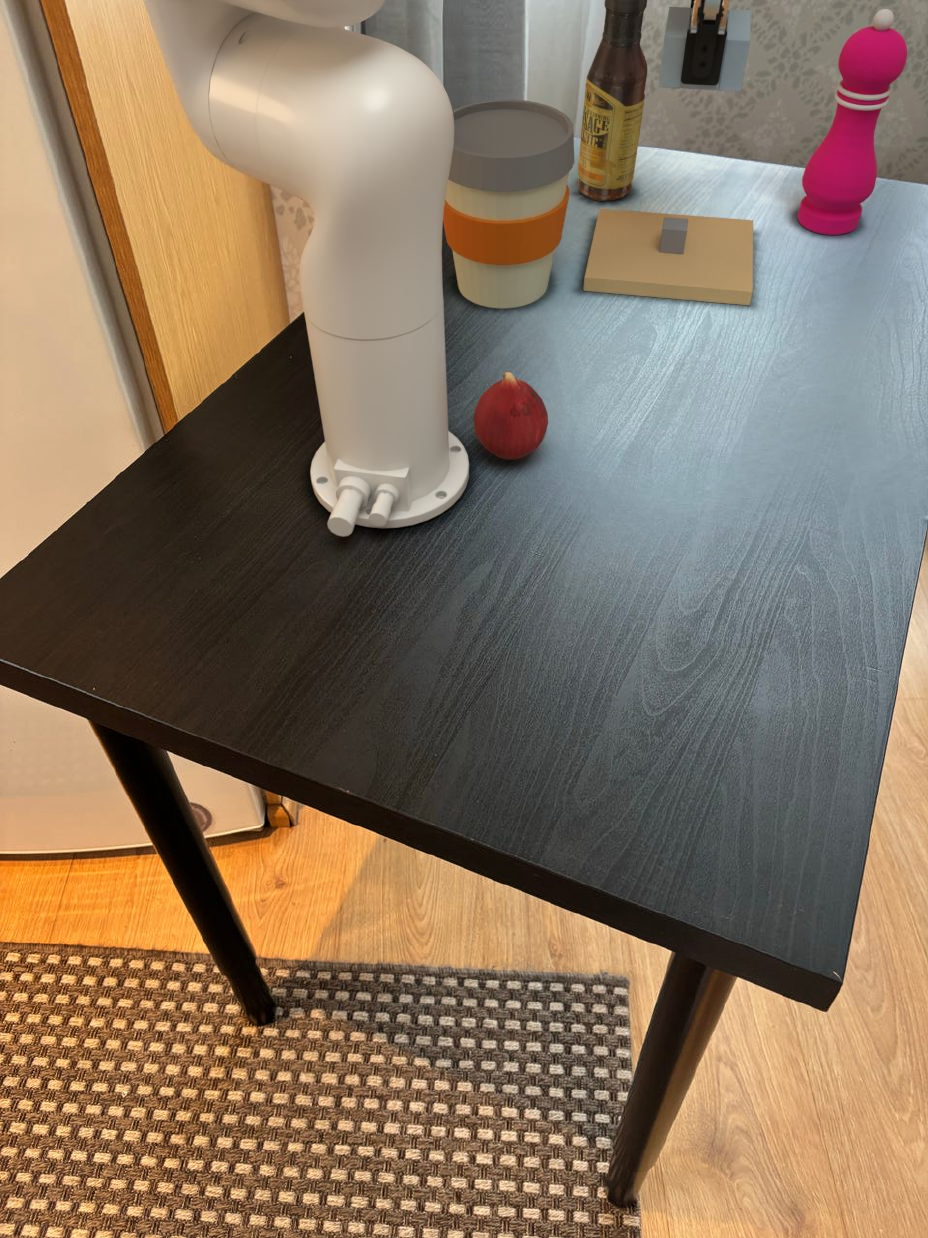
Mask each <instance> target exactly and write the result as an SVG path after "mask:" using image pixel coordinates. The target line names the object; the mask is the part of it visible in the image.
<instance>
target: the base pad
mask: <svg viewBox="0 0 928 1238" xmlns="http://www.w3.org/2000/svg"><path fill="white" fill-rule="evenodd" d="M593 231H594V232H593V236H592V241H591V244H590V245H591V246H590V250H589V255H588V259H587V264H586V269H585V273H584V278H583V288H582V289H583V292H593V293H603V294H604V293H605V294H614V295H627V296H637V297H649V298H660V299H672V300H683V301H694V302H695V301H696V302H705V303H717V304H729V305H740V306H750V305H751V302H752V297H753V293H754V220H753V219H743V218H742V219H741V218H731V217H730V218H729V217H716V216H702V215H691V214H675V213H665V212H663V213H662V212H651V211H638V210H635V211H634V210H625V209H612V208H611V209H609V208H599V209H598V214H597V218H596V222H595V228H594V230H593Z"/></svg>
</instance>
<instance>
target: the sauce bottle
mask: <svg viewBox="0 0 928 1238" xmlns="http://www.w3.org/2000/svg"><path fill="white" fill-rule="evenodd" d="M647 6H648V0H604V8H605V15H604V16H605V17H604V25H603V32H602V35H601V37H602V38H601V40H600V43H599V46H598V48H597V50H596V53H595V55H594V58H593V60H592V63H591V65H590V68H589V69H588V71H587V72H588V73H587V75H586V80H585V90H584V100H583V111H582V120H581V129H580V143H579V153H578V163H577V177H578V178H577V184H578V190H579V192H580V193H581V194H582V195H584V196H586V197H587V198H590V199H592V200H594V201H597V202H603V201H614V200H615V201H616V200H619V199H622V198H624V197H626V196H627V195H628V194H629V193H630V191H631V189H632V185H633V184H632V182H633V181H634V177H635V170H636V162H637V155H638V149H639V141H640V134H641V127H642V120H643V112H644V107H645V106H644V105H645V99H646V94H645V92H646V90H645V89H646V84H647V79H648V78H647V77H648V63H647V59H646V55H644V52H643V49H642V47H641V41H642V40H641V39H642V35H643V34H642V27H643V21H644V20H643V19H644V13H645V10H646V8H647Z"/></svg>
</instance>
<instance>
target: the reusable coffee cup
mask: <svg viewBox="0 0 928 1238" xmlns="http://www.w3.org/2000/svg"><path fill="white" fill-rule="evenodd" d="M452 111H453V117H454V146H453V153H452V160H451V166H450V172H449V178H448V184H447V190H446V197H445V205H444V215H443V228H444V235H445V239H446V242H447V246H449V248H450V250H451V251H452V255H453V262H454V268H455V274H456V280H457V287H458V290H459V292H460V293H461V296H463V297H464V298H465V299H466V300H468V301H470V302H471V303H473V304H475V305H478V306H482V307H486V308H490V309H491V308H492V309H514V308H515V309H516V308H520V307H524V306H527V305H530V304H532V303H534V302H536V301H538V300H539V299H540V298H542V297H543V296H544V295H545V293H546V292H547V290H548V287H549V282H550V277H551V271H552V266H553V260H554V255H555V251H556V250H557V247H558V246H559V245H560V242H561V240H562V235H563V232H564V231H563V230H564V226H565V222H566V221H565V220H566V215H567V210H568V205H569V199H570V188H569V185H568V181H569V176H570V172H571V171H572V169H573V167H574V165H575V163H576V162H575V137H574V124H573V122H572V120H571V118H570V117H569V116H567V115H566V113H564V112H563V111H561V110H560V109H557V108H555V107H553V106H550V105H547V104H544V103H541V102H537V101H530V100H523V99H490V100H482V101H477V102H476V101H475V102H472V103H469V104H465V105H462V106H459V107H457V108H454V109H452Z"/></svg>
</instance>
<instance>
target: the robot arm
mask: <svg viewBox="0 0 928 1238" xmlns="http://www.w3.org/2000/svg"><path fill="white" fill-rule="evenodd" d="M142 1H143V4H144V6H145V10H146V12H147V15H148V18H149V20H150V23H151V26H152V30H153V32H154V34H155V37H156V40H157V44H158V46H159V48H160V51H161V54H162V56H163V59H164V62H165V64H166V67H167V71H168V73H169V75H170V78H171V81H172V84H173V87H174V89H175V92H176V95H177V97H178V100H179V102H180V105H181V108H182V110H183V112H184V114H185V117H186V119H187V121H188V123H189V124H190V126H191V128H192V130H193V132H194V133H195V135H196V136H197V139H198V140H199V141H200V142H201V144H202V145H203V146H204V147H205V149H206V150H207V151H208V152H209V153H210V154H211V155H212V156H214V158H215V159H217V160H218V161H219V162H221V163H222V164H223V165H225V166H227V167H228V168H230V169H233V170H235V171H236V172H239V173H241V174H244V175H246V176H248V177H249V178H252V179H255V180H256V181H259V182H262V183H263V184H267V185H269V186H272V187H274V188H277V189H278V190H280V191H281V190H282V191H284V192H285V193H287V194H288V195H291V196H293V197H295V198H297V199H300V200H302V201H303V202H305V203H306V204H307V205H308V206H309V209H311V211H312V216H313V224H312V225H313V226H312V229H311V233H310V235H309V237H308V239H307V241H306V244H305V245H304V248H303V250H302V253H301V256H300V259H299V260H300V261H299V269H298V271H299V272H298V277H299V278H298V279H299V280H298V281H299V290H300V297H301V303H302V308H303V313H304V319H305V323H306V324H305V326H306V332H307V337H308V343H309V349H310V357H311V362H312V369H313V374H314V381H315V387H316V393H317V394H316V395H317V401H318V407H319V412H320V417H321V418H320V419H321V425H322V431H323V437H324V442H323V443H321V445H320V446H319V448H318V449H317V450H316V452H315V454H314V456H313V458H312V461H311V465H310V480H311V486H312V489H313V493H314V495H315V497H316V499H317V500H318V502H319V504H321V505H322V507H323V508H324V509H326V510H327V512H329V513H330V515H329V517H328V520H327V523H326V524H327V528H328V530H329V531H330V532H331V533H332V534H334V535H336V536H338V537H342V538H343V537H349V536H350V535H351V534H352V533H353V532H354V529H355V527H356V525H357V526H362V527H366V528H374V529H375V528H377V529H396V528H397V529H398V528H399V529H400V528H404V527H408V526H409V527H410V526H415V525H417V524H420V523H424V522H426V521H427V522H428V521H430V520H431V519H433V518H436V517H438V516H440V515H441V514H443V513H444V512H445V511H447V510H448V509H450V508H451V507H453V506H454V505H455V503H456V502H457V501H458V500H459V499H461V497H462V495H463V493H464V492H465V490H466V488H467V486H468V483H469V479H470V462H469V461H470V460H469V455H468V453H467V450H466V448H465V446H464V444H463V443H462V442H461V440H460V439H459V438H458V437H457V436H456V435H454V433H452V432H451V431H450V430H449V411H448V385H447V383H448V381H447V359H446V333H445V332H446V331H445V306H444V305H445V304H444V291H443V228H444V222H443V215H444V205H445V197H446V190H447V184H448V178H449V172H450V166H451V160H452V153H453V146H454V117H453V106H452V104H451V100H450V98H449V95H448V92H447V91H446V89H445V87H444V85H443V83H442V82H441V80H440V79H439V77H438V76H437V74H435V73H434V71H432V70H431V68H430V67H429V66H428V65H427V64H426V63H424V62H423V61H422V60H421V59H419V58H418V57H417V56H415V55H414V54H412V53H410V52H408V51H407V50H405V49H403V48H401V47H399V46H397V45H396V44H393V43H390V42H388V41H385V40H382V39H380V38H376V37H373V36H371V35H370V36H369V35H367V34H363V33H360V32H356V31H353V30H350V29H346V28H345V27H352V26H355V25H358V24H360V23H362V22H364V21H365V20H367V19H369V18H372V17H373V16H374V15H376V14H377V13H378V12H379V10H380V9H382V7H383V6H384V4H385V2H386V1H387V0H142ZM729 5H730V0H690V7H689V8H694V9H693V16H692V23H691V30H690V29H688V30H687V37H686V44H685V51H684V59H683V66H682V73H681V82H682V83H683V84H693V85H712V86H715V85H717V84H718V83H719V79H720V73H721V67H722V61H723V55H724V49H725V43H726V37H727V31H725V26H726V20H727V13H728V11H729V7H730V6H729ZM698 19H699V22H698ZM697 28H698V29H697Z"/></svg>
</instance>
